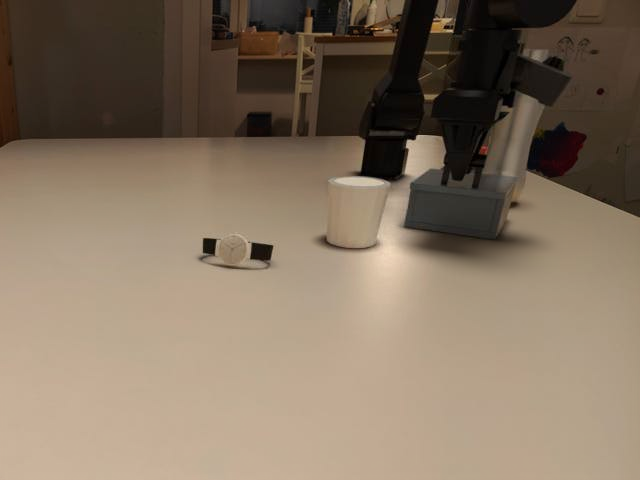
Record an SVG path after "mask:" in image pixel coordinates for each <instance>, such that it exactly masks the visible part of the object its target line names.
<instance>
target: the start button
mask: <svg viewBox="0 0 640 480" xmlns="http://www.w3.org/2000/svg"><path fill="white" fill-rule="evenodd" d="M487 148H488V146H484V145H483V147H482V149H481V151H480V153H479V154H486V151H487Z"/></svg>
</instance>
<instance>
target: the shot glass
mask: <svg viewBox="0 0 640 480" xmlns="http://www.w3.org/2000/svg"><path fill="white" fill-rule="evenodd" d="M327 182H328V183H327V184H328V185H327V186H328V187H327V214H326V215H327V217H326V242H327V243H329V244H330V245H333V246H336V247H341V248H348V249H351V248H352V249H366V248H370V247H373V246H374V245H376V242H377V238H378V235H379V231H380V226H381V224H382V223H381V222H382V219H383V215H384V211H385V207H386V203H387V200H388V196H389V192H390V189H391V182H390V181H389V180H386V179H380V178H372V177H363V176H357V175H346V176H344V175H343V176H337V177H331V178H329V179H328V181H327Z"/></svg>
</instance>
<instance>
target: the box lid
mask: <svg viewBox="0 0 640 480" xmlns="http://www.w3.org/2000/svg"><path fill="white" fill-rule="evenodd" d="M487 157H488V155H486V154H474V155H473V157H472V160H471V162H470V164H469V167H476V170H475V173H470V174H465V176H464V179H463V180H462V181H454V180H453V179H452V176H451V171H450V167H449V162H448V158H447V154H446V152H445V154H444V157H443V166H444V170H440V169H441V168H440V169H439V168H429V169H428V170H426V171H425V172H424V173H422V174H421V175H419V176H418V177H416V179H415V178H414V180H413V181H411V182H410V183H409V190H411V189H413V190H422V191H431V192H440V193H448V194H457V195H466V196H475V197H484V198H493V199H501V200H505V198H506V197H507V195H508V194H509V192H510V191H511V189H512V188H513V187H514V185H515V184H516V181H517V177H513V176H503V175H492V174H482V171H483V168H484V167H485V165H486V162H487Z"/></svg>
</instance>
